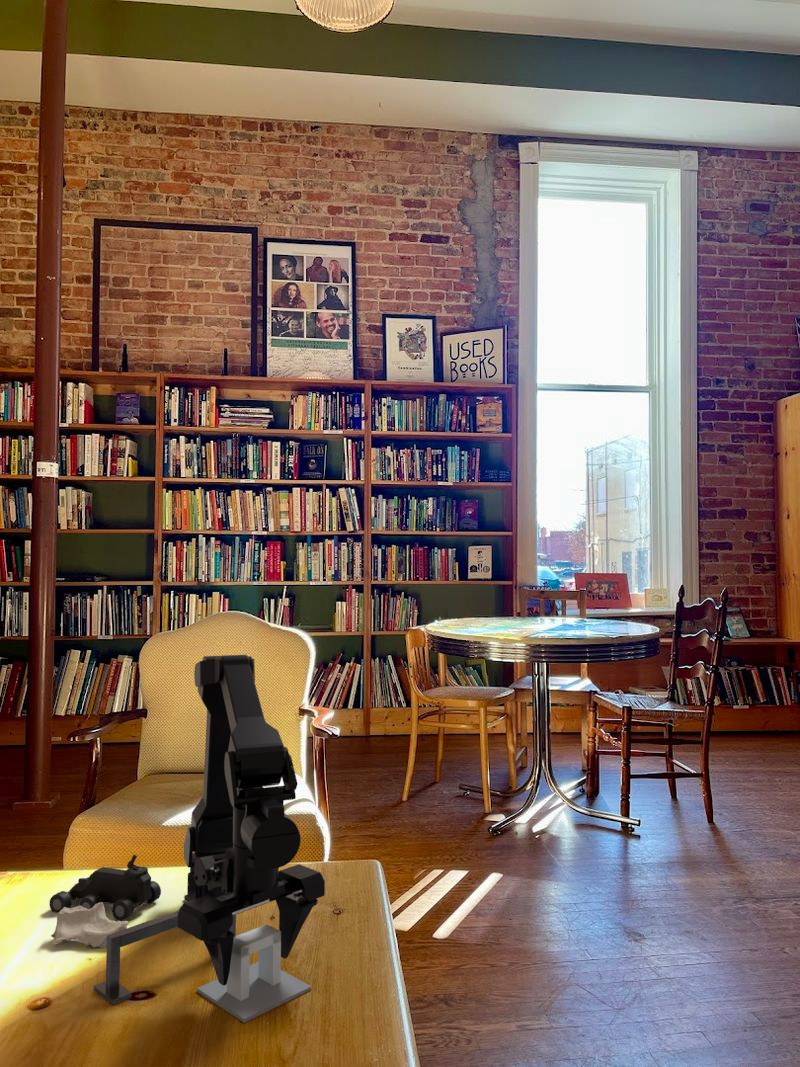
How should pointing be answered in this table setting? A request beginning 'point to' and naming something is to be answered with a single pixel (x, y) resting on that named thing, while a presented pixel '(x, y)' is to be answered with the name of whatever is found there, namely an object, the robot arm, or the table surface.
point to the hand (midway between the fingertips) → (254, 970)
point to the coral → (86, 925)
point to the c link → (269, 959)
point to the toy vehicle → (111, 890)
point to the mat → (255, 994)
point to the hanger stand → (112, 986)
